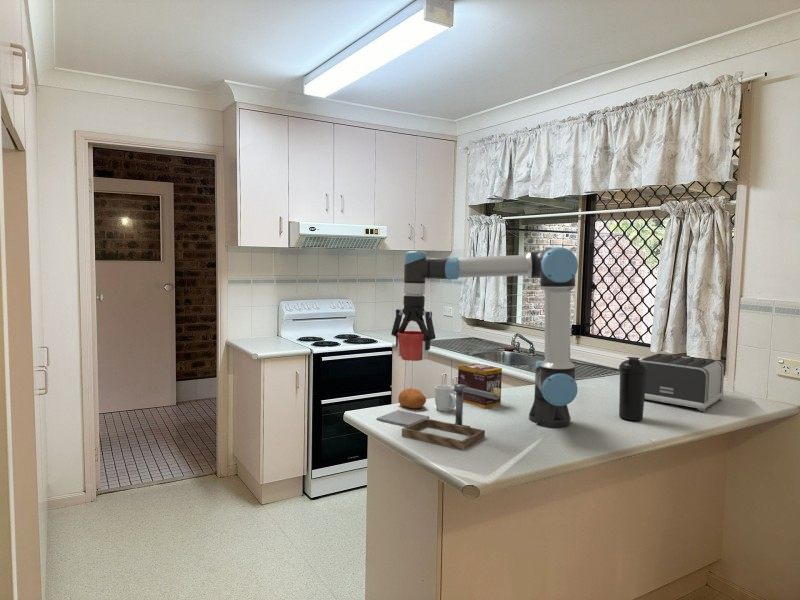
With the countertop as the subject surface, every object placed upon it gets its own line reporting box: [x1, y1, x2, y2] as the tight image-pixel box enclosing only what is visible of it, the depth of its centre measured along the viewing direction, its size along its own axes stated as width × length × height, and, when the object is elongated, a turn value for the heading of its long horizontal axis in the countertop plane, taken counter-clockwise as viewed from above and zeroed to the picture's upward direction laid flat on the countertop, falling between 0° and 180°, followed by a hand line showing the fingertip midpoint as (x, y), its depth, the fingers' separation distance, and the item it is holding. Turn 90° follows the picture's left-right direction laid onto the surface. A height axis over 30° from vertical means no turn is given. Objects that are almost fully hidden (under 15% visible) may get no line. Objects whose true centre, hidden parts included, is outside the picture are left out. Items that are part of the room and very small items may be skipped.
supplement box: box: [457, 362, 503, 410], centre depth 232 cm, size 10×15×16 cm
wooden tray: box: [401, 418, 486, 451], centre depth 187 cm, size 23×16×2 cm
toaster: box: [639, 353, 725, 412], centre depth 249 cm, size 31×36×18 cm
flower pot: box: [398, 330, 425, 362], centre depth 200 cm, size 11×11×10 cm
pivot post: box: [454, 392, 471, 427], centre depth 196 cm, size 6×6×13 cm
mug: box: [434, 384, 456, 412], centre depth 219 cm, size 11×8×9 cm
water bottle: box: [618, 356, 648, 421], centre depth 216 cm, size 10×10×23 cm
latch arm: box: [453, 383, 502, 400], centre depth 189 cm, size 4×19×4 cm, turn 43°
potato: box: [398, 387, 427, 410], centre depth 222 cm, size 9×11×8 cm
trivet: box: [376, 409, 430, 427], centre depth 206 cm, size 14×14×1 cm
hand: (412, 357), depth 200 cm, fingers closed on flower pot, 10 cm apart
